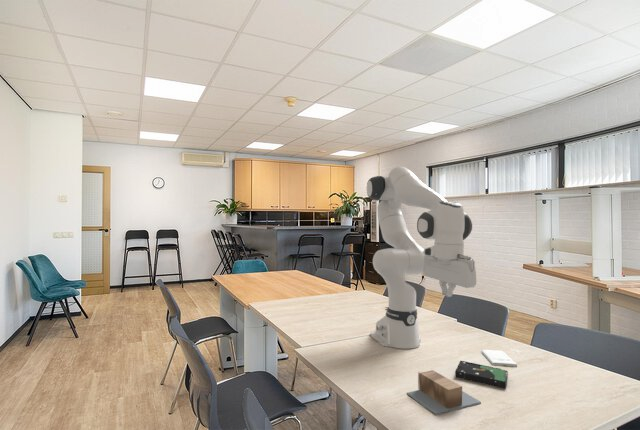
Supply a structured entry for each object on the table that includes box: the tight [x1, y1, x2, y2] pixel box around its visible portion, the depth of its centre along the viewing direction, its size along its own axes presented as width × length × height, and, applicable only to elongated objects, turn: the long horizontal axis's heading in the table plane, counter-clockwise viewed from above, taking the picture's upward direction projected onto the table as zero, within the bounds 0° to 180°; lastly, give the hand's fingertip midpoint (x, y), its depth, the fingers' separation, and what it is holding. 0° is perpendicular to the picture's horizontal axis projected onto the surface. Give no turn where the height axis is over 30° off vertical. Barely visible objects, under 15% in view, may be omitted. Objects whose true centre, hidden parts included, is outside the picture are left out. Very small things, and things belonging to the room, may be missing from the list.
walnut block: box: [417, 368, 463, 409], centre depth 102 cm, size 5×5×12 cm
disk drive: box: [454, 360, 509, 390], centre depth 116 cm, size 10×3×15 cm
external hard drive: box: [481, 349, 518, 367], centre depth 132 cm, size 2×8×12 cm
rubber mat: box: [406, 389, 482, 416], centre depth 101 cm, size 12×16×1 cm
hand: (447, 295), depth 113 cm, fingers closed
